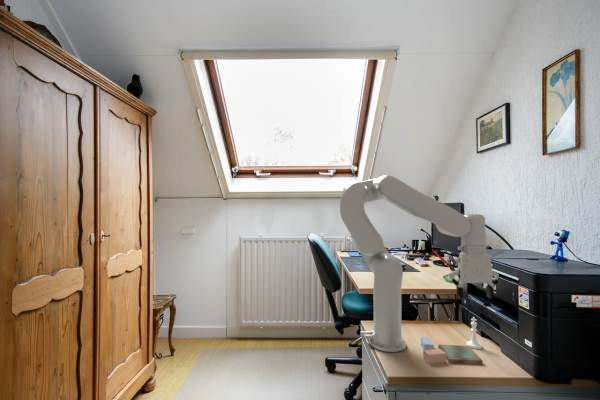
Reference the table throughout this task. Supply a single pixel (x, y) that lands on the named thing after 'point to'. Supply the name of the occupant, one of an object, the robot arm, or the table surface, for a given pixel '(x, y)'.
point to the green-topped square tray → (460, 354)
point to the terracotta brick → (434, 356)
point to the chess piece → (474, 336)
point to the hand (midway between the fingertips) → (474, 298)
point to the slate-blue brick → (426, 343)
